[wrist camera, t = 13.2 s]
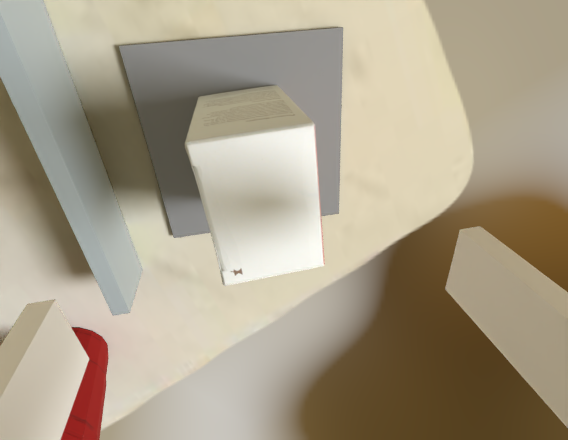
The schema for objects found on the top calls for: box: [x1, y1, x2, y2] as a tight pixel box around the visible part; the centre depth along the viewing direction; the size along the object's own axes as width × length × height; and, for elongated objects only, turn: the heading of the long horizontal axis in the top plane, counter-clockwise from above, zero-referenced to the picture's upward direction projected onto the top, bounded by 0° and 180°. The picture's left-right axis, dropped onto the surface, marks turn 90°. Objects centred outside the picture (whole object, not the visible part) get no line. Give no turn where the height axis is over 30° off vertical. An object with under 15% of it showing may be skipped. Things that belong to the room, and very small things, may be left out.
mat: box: [119, 27, 343, 238], centre depth 25 cm, size 14×14×1 cm
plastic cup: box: [61, 328, 108, 440], centre depth 27 cm, size 11×11×12 cm
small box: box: [185, 85, 325, 286], centre depth 20 cm, size 8×6×10 cm
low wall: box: [0, 0, 142, 315], centre depth 22 cm, size 1×20×5 cm, turn 4°
